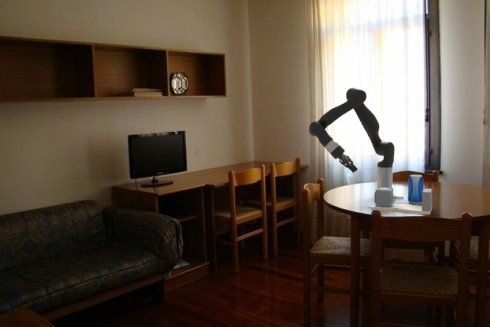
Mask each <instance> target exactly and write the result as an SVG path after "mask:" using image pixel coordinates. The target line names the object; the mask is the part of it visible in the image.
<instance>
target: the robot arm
mask: <svg viewBox="0 0 490 327" xmlns="http://www.w3.org/2000/svg"><path fill="white" fill-rule="evenodd" d="M345 93H346V94H345V98H346V101H345V102H343V103H340V104H339V105H337V106H334V107H332V108H331V109H329V110H328V111H326V112H325V113H324V114H322V115H321V117H320V118H319V119H318V120H316V121H311V123H310V124H309V127H308V133H309V134H310V135H311V137H316V138H317V140H318V142H319V143H320V144H321V145H322V146H323V148H324V149H325V150H326V152H327V153H329V154H330V155H331V157H332V158H333V159H334V160H337V159H338V162H339V163H340V165H342V166H343V167H345V168H346V169H348V170H350V171H351V172H352V173H356V172H357V171H358V167H357V166H356V165H355V164H354V161H353V160H352V159H351V157H350V156H349V155H346V154H345V152H346V150H345V149H344V147H342V146H341V144H339V142H338V141H337V140H335V138H333V137H332V136H331V135H330V134H329V133H328V131H327V130H326V129H327V128H328V127H329V126H330V125H332V124H333V123H334V122H336V121H337V120H338V119H339V118H341V117H343V115H346V114H347V113H349V112H350V111H352V110H353V111H354V112H355V115H356V116H357V118H358V120H359V122H360V124H361V126H362V128H363V129H364V132H366V134H367V136H368V139H369V140H370V142H371V145H372V147H373V150H374V153H375V154H376V155H377V156H380V157H381V156H382V160H380V161H378V162H377V164H376V165H377V168H376V169H377V170H376V173H377V174H376V189H377V188H378V187H383V188H393V170H394V169H393V164H394V162H395V145H394V143H393V142H391V141H386V140H385V141H383V140H382V139H381V136H380V134H379V130H380V123H379V121H378V119H377V117H376V115H375V114H374V113H373V112H372V111H371V110H370V109H369V107H368V106H366V104H365V102H366V100H367V92H366V91H365V90H364V89H361V88H357V87H350V88H349V89H347V91H346V92H345Z"/></svg>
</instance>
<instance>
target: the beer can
mask: <svg viewBox="0 0 490 327" xmlns="http://www.w3.org/2000/svg"><path fill="white" fill-rule="evenodd" d="M424 183H425V179H424V177H423V175H422V174H410V175H409V177H408V179H407V202H408V203H409V204H410V205H422V192H423V190H424V188H425V187H424V186H425V184H424Z"/></svg>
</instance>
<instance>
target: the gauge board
mask: <svg viewBox="0 0 490 327" xmlns="http://www.w3.org/2000/svg"><path fill="white" fill-rule="evenodd" d="M375 204H376V203H375V202H374V203H373V204H372V206H370V210H371V209H373V210H372V211H382V212H392V213H393V212H397V213H407V214H408V213H409V214H419V215H431V212H432V209H433V188H425V187H424V190H423V192H422V204H421V205H418V204H403V203H402V204H400V203H393V205H392V206H391V207H382V206H375Z"/></svg>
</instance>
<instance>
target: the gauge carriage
mask: <svg viewBox="0 0 490 327" xmlns="http://www.w3.org/2000/svg"><path fill="white" fill-rule="evenodd" d="M404 199H405V198H404V196H398V195H397V196H395V195H394V187H392V188H383V187H378V188H377V187H376V189H375V191H374V203H376V204H375V206H382V207H391V206H392V205H393V204H394V200H401V201H402V200H403V201H404Z"/></svg>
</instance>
